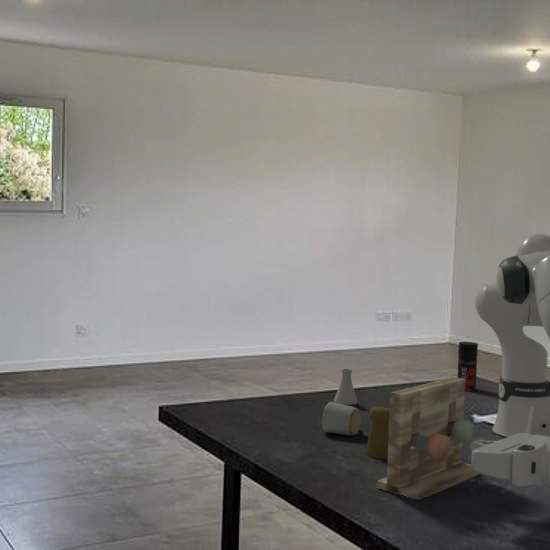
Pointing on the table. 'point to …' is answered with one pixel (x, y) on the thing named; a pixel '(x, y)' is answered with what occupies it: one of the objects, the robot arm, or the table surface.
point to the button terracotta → (432, 444)
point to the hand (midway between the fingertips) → (473, 444)
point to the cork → (378, 433)
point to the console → (426, 421)
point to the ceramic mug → (341, 419)
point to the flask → (346, 390)
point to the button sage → (461, 430)
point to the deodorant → (468, 364)
